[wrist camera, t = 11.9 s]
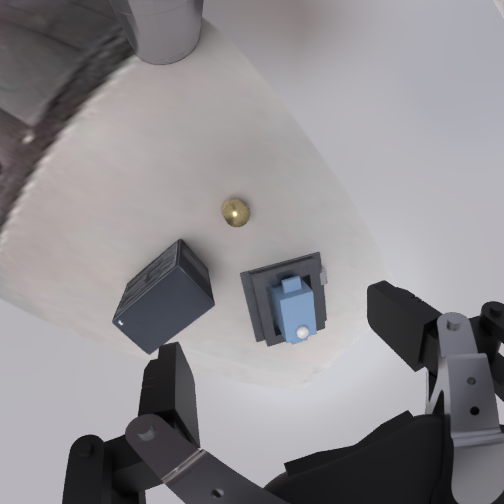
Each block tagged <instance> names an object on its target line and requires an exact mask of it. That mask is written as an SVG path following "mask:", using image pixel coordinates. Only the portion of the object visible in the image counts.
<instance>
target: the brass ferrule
mask: <svg viewBox="0 0 504 504" xmlns="http://www.w3.org/2000/svg"><path fill="white" fill-rule="evenodd" d="M222 214H223V216H224V218H225V220H226V221H227V223H228V224H229V225H231V226H233V227H241V226H243V225H245V224H246V223H247V222H248V220H249V217H250V211H249V209H248V207H247V206H246V205H245V204H244V203H242V202H241V201H240V200H238V199H235V198H231V199H228V200H226V201H225V202H224V203H223V205H222Z"/></svg>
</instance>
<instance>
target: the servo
mask: <svg viewBox="0 0 504 504" xmlns="http://www.w3.org/2000/svg"><path fill="white" fill-rule="evenodd" d="M270 291H271V296H272V302H273V308H274V313H275V319H276V324H277V326H278V327H279V329H280V331H281V333H282V335H283V337H284V339H285V340H286V342H287V343H289V342H291V343H292V344H295V343H298V342H302V341H305V340H307V337H308V336H311V335H314V334H317V331H316V319H315V308H314V298H313V291H312V290H311V289H310V288H309V286H308V285H307V284H306V283H305V282H304V281H303V280H302V279H301V278H300V277H299V276H296V277H293V278H289V279H285V280H282V283H278V284H275V285H271V286H270Z"/></svg>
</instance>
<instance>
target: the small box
mask: <svg viewBox="0 0 504 504" xmlns="http://www.w3.org/2000/svg"><path fill="white" fill-rule="evenodd" d="M213 306H215V302H214V298H213V294H212V289H211V284H210V278H209V273H208V269H207V268H206V267H205V266H204V265H203V264H202V262H201V261H200V260H199V259H198V258H197V257H196V255H195V254H194V253H193V252H192V251H191V250H190V249H189V247H188V246H187V245H186V244H185V243H184V242H183V240H182V239H179V240H178V241H177V242H175V243H174V244H173V245H172V246H170V247H169V248H168V249H167V250H166V251H165V252H163V253H162V254H161V255H160V256H159V257H157V258H156V259H155V260H154V261H153V262H152V263H150V264H149V265H148V266H147V267H146V268H144V269H143V270H142V271H141V272H140V273H139V274H138V275H137V276H135V277H134V278H133V279H132V280H131V281H130V282H129V283H128V284H127V286H126V289H125V291H124V294H123V296H122V299H121V301H120V303H119V305H118V308H117V310H116V313H115V315H114V318H113V320H112V323H113V324H114V325H115V326H116V327H117V328H118V329H119V330H121V331H122V332H123V333H124V334H125V335H126V336H127V337H128V338H129V339H131V340H132V341H133V342H134V343H135V344H136V345H137V346H139V347H140V348H141V349H142V350H143V351H145V352H146V353H147V354H148V355H150V354H151V353H153V352H154V351H155V350H157V349H158V348H159V346H160V345H163V344H165V343H166V342H167V341H169V340H170V339H171V338H172V337H174V336H175V335H176V334H178V333H179V332H180V331H182V330H183V329H184V328H186V327H187V326H188V325H190V324H191V323H192V322H194V321H195V320H196V319H198V318H199V317H200V316H202V315H203V314H204V313H206V312H207V311H208V310H210V309H211V308H212V307H213Z"/></svg>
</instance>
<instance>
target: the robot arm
mask: <svg viewBox="0 0 504 504" xmlns="http://www.w3.org/2000/svg"><path fill="white" fill-rule="evenodd" d="M108 1H109V2H110V4H111V6H112V8H113V10H114V12H115V14H116V16H117V18H118V20H119V22H120V24H121V26H122V28H123V30H124V32H125V34H126V36H127V38H128V40H129V42H130V44H131V46H132V48H133V50H134V52H135V54H136V55H137V56H138V57H139V58H140V59H142V60H143V61H145V62H148V63H151V64H156V65H164V64H170V63H173V62H176V61H179V60H181V59H183V58H184V57H186V56H187V55H188V54H190V53H191V52H192V50H193V49H194V48H195V47H196V45H197V43H198V40H199V37H200V27H201V18H202V9H203V0H108ZM367 319H368V323H369V325H370V327H371V328H372V329H373V330H374V332H375V333H377V334H378V336H380V337H381V338H382V339H383V340H384V341H385V342H386V343H387V344H388V345H389V346H390V347H391V348H392V349H393V350H394V351H395V352H396V353H397V354H398V355H399V356H400V357H401V358H402V359H403V360H404V361H405V362H406V363H407V364H408V365H409V366H410V367H411V368H412V369H413V370H414V371H415V372H416V371H418V370H420V369H421V368H423V367H426V368H427V372H426V409H425V414H423V415H418V416H414V417H413V416H412V414H411V413H410V412H409V411H408V410H407V411H405V412H403V413H402V414H400V415H398V416H396V417H394V418H392V419H391V420H389V421H387V422H385V423H383V424H381V425H380V426H379V427H378V428H376V429H375V430H374V431H373V432H371V433H370V434H369V435H367V436H366V437H365V438H364V439H362V440H361V441H360V442H359V443H357V444H355V445H353V446H349V447H344V448H339V449H334V450H328V451H321V452H316V453H314V454H311V455H308V456H305V457H302V458H299V459H296V460H293V461H290V462H287V463H284V466H285V469H286V472H284V473H282V474H280V475H279V476H277V477H276V478H274V479H273V480H272V481H270V482H269V483H268V484H267V485H266V486H265V487H264V488H261V487H259V486H258V485H256V484H254V483H253V482H251V481H250V480H248V479H247V478H245V477H243V476H242V475H240V474H239V473H237V472H236V471H234V470H232V469H231V468H230V467H228V466H227V465H225V464H224V463H222V462H221V461H220V460H218V459H217V458H216V457H214V456H213V455H211V454H210V453H209V452H207V451H205V450H203V449H202V450H201V451H200V450H199V449H198V448H200V439H199V429H198V419H197V408H196V394H195V382H194V378H193V374H192V371H191V369H190V367H189V364H188V362H187V360H186V358H185V355H184V353H183V351H182V348H181V346H180V344H179V342H174V343H169V344H165V345H160V346H159V353H158V359H154V360H150V362H149V363H148V365H147V366H146V368H145V369H144V375H143V382H142V389H141V396H140V403H139V411H138V417H137V418H135V419H134V420H132V421H131V422H130V423H129V425H128V426H127V428H126V431H125V434H124V435H122V436H120V437H117V438H115V439H112V440H109V441H106V442H103V440H102V439H101V438H99V437H98V436H96V435H85V436H82V437H80V438H78V439H77V440H76V441H75V442H74V443H73V445H72V446H71V449H70V453H69V458H68V465H67V470H66V477H65V484H64V491H63V500H62V504H146V498H145V490H146V489H150V488H152V487H155V486H158V485H160V484H163V483H165V485H167V486H168V488H169V489H171V490H172V491H173V492H174V493H175V494H176V495H177V496H178V497H179V498H180V499H181V500H182V501H183V502H184V503H185V504H504V425H501V424H499V418H498V410H497V403H496V397H495V394H496V395H497V396H498V397H499V398H500V399H501V400H502V401H503V402H504V357H503V356H502V355H501V354H500V353H498V351H499V348H500V345H501V342H502V343H503V344H504V304H502V303H500V302H495V301H491V302H487V303H485V304H484V305H483V306H482V309H481V314H480V316H476V317H473V318H469V319H468V318H467V317H466V316H464V315H462V314H460V313H455V312H454V313H453V312H450V313H445V314H442V313H440V312H439V311H437V310H436V309H434V308H433V307H431V306H430V305H428V304H427V303H426V302H424V301H422V300H421V299H419V298H418V297H415V295H414V294H412V293H411V292H409V291H408V290H405V289H401V288H398V287H394V286H393V285H391V284H390V283H388V282H387V281H385V280H383V281H380V282H378V283H375V284H372V285H370V286H368V289H367Z"/></svg>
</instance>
